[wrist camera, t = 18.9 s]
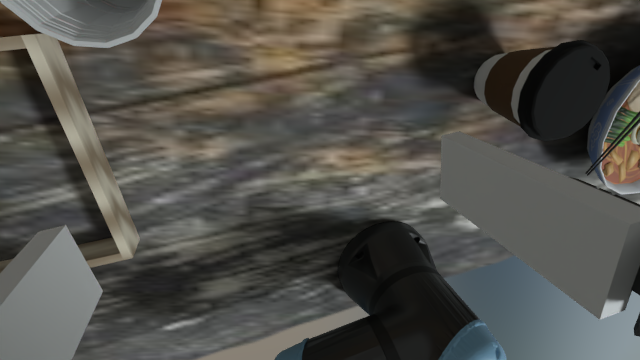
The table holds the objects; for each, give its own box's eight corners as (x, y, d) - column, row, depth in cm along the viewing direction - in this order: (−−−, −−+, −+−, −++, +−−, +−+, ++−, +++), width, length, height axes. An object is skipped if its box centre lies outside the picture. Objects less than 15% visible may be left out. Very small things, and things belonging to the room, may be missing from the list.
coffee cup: (489, 20, 43) (577, 20, 32) (540, 59, 47) (631, 69, 37) (443, 99, 46) (510, 122, 35) (495, 128, 50) (568, 157, 40)
